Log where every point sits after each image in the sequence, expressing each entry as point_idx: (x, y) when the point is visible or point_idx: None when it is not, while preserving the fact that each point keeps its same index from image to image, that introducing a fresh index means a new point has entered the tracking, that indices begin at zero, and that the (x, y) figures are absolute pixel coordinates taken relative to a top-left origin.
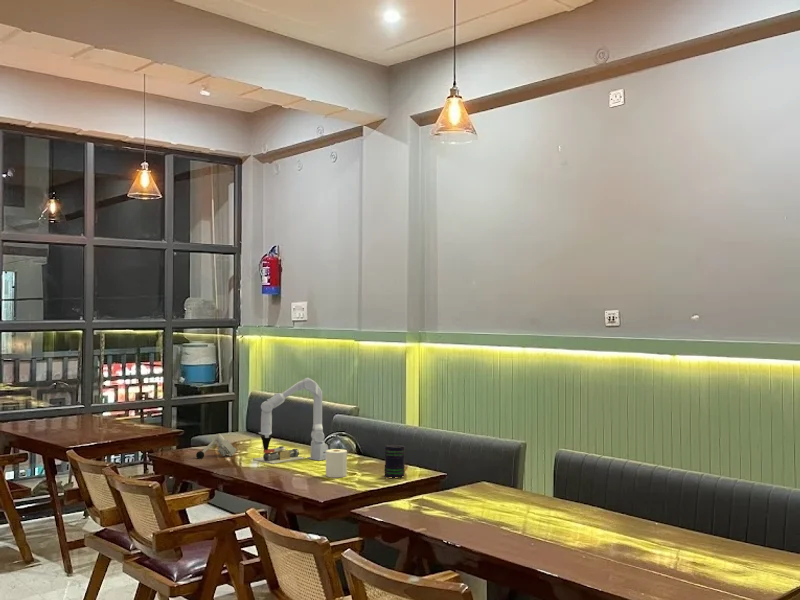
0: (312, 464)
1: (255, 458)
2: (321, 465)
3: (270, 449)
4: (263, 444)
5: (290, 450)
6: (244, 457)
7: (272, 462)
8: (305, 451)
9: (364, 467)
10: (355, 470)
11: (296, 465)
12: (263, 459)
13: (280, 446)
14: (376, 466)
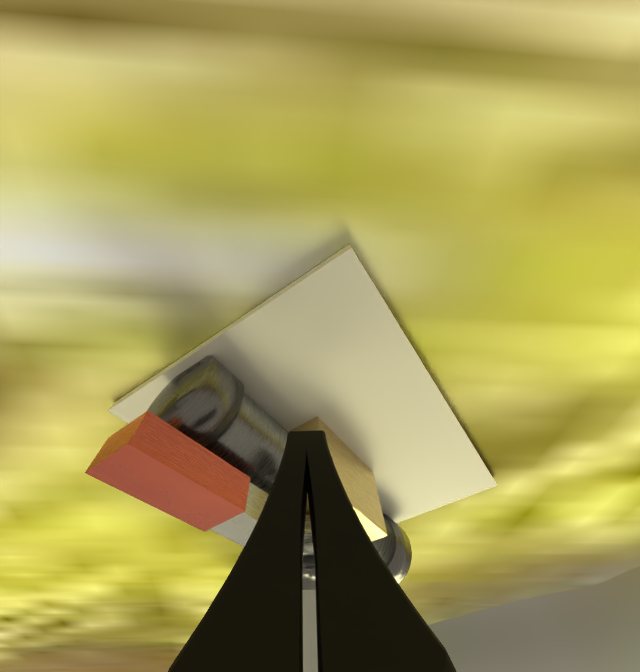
0: (138, 564)
1: (354, 274)
2: (115, 585)
3: (177, 504)
4: (266, 504)
5: None
6: (559, 130)
7: (116, 412)
8: (547, 547)
9: (102, 653)
10: (25, 643)
11: (84, 517)
12: (279, 350)
13: None
14: (131, 665)
